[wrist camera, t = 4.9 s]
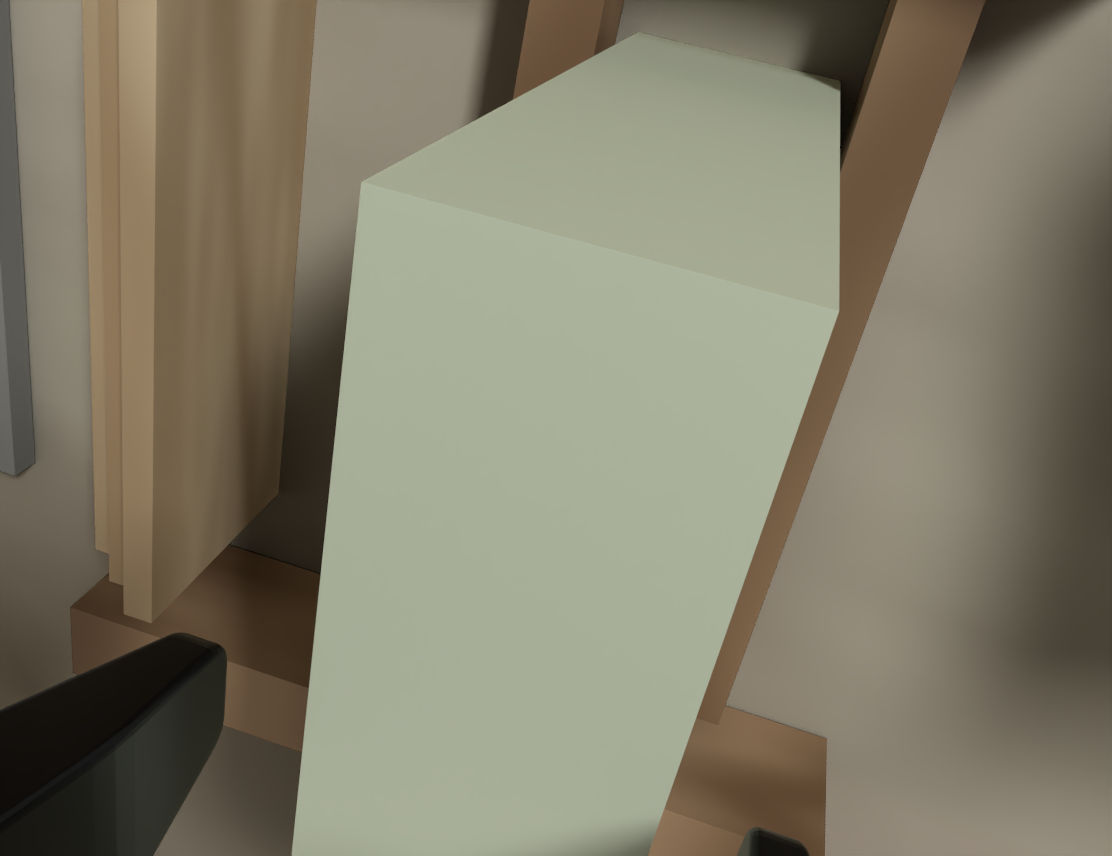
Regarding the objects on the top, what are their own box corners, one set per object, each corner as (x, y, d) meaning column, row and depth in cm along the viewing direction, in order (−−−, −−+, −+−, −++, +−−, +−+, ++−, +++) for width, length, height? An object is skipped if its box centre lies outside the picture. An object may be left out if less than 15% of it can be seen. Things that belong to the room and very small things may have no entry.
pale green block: (840, 80, 15) (839, 311, 6) (683, 578, 19) (549, 1135, 10) (638, 32, 15) (360, 181, 6) (529, 530, 19) (273, 1028, 11)
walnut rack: (1241, -199, 12) (1350, -232, 10) (801, 796, 20) (795, 924, 18) (125, -420, 14) (-38, -499, 12) (129, 573, 22) (35, 659, 20)
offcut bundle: (330, -111, 15) (157, -122, 11) (282, 489, 21) (151, 623, 17) (226, -136, 16) (21, -154, 12) (204, 465, 21) (57, 592, 17)
